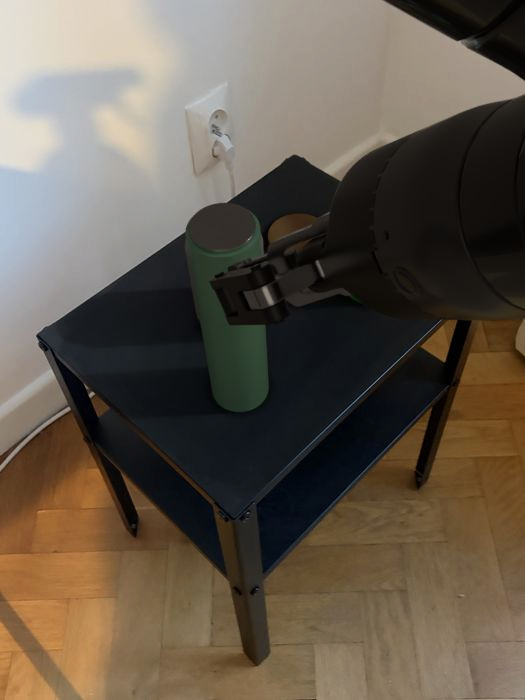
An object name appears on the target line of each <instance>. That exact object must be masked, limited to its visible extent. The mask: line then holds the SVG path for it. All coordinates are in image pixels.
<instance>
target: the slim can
mask: <svg viewBox="0 0 525 700" xmlns="http://www.w3.org/2000/svg"><path fill="white" fill-rule="evenodd" d="M260 232H261V225H260V221H259V219H258V217H257V216H256V215H255V214H254V213H253V212H251V210H249V209H248V208H246V207H244V206H242V205H240V204H237V203H232V202H217V203H213V204H208V205H207V206H204V207H202V208H200V209H199V210H198V211H197V212H196V213H194V214H193V215H192V216H191V218H190V219H189V220H188V222H187V223H186V227H185V240H186V241H187V247H188V253H189V259H190V265H191V271H192V277H193V282H194V288H195V294H196V300H197V306H198V312H199V318H200V320H199V324H200V329H201V334H202V340H203V345H204V346H203V347H204V352H205V358H206V364H207V365H206V366H207V369H208V376H209V381H210V388H211V393H212V397H213V399H214V401H215V402H216V404H217V405H219V406H220V407H221V408H223V409H224V410H226V411H229V412H234V413H246V412H249V411H252V410H254V409H257V408H258V407H259V406H260V405H262V403H264V401H265V400H266V398H267V397H268V394H269V389H270V385H269V384H270V383H269V367H268V365H269V364H268V363H269V362H268V345H267V328H266V326H267V325H229V324H228V322H227V319H226V315H225V313H224V311H223V308H222V306H221V304H220V302H219V300H218V298H217V295H216V293H215V291H214V290H213V289H212V287H211V285H210V282H209V281H210V280H211V279H213V278H215V276H214V275H216V274H218V273H220V272H224V273H227V272H228V267H229V266H231V265H233V264H235V263H237V262H240V261H243V260H245V259H247V258H250V257H251V259H253V258H256V257H259V256H261V255H262V252H261V235H262V233H261V234H260Z"/></svg>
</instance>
